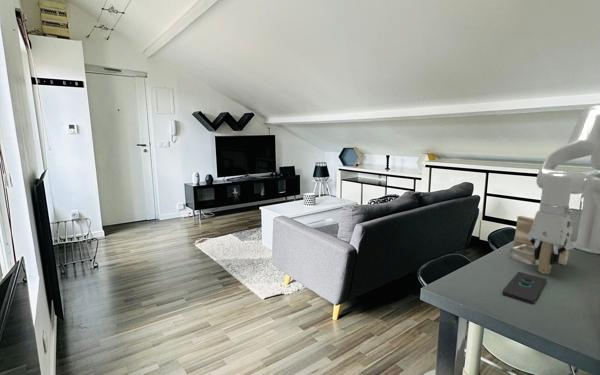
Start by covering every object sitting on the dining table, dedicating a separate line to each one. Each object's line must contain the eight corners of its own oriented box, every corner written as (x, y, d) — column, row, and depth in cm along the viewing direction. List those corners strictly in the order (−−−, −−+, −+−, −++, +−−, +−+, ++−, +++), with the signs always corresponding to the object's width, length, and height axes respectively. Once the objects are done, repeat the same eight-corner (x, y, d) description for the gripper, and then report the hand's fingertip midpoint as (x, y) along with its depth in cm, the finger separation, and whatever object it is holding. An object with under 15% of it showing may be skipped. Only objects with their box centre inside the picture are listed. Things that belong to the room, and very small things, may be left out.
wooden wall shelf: (516, 248, 138) (520, 215, 135) (567, 263, 122) (573, 227, 120) (497, 253, 131) (501, 219, 129) (548, 270, 116) (554, 232, 114)
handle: (552, 277, 110) (559, 234, 108) (530, 271, 115) (536, 229, 113) (557, 274, 113) (564, 232, 111) (535, 267, 118) (541, 227, 116)
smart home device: (548, 278, 107) (534, 300, 93) (547, 283, 107) (534, 306, 93) (518, 270, 113) (501, 290, 99) (517, 275, 113) (500, 296, 99)
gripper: (589, 214, 105) (580, 268, 108) (532, 203, 119) (525, 251, 123) (578, 216, 101) (569, 273, 105) (520, 205, 116) (513, 255, 119)
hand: (545, 260), depth 114 cm, fingers closed on handle, 4 cm apart
